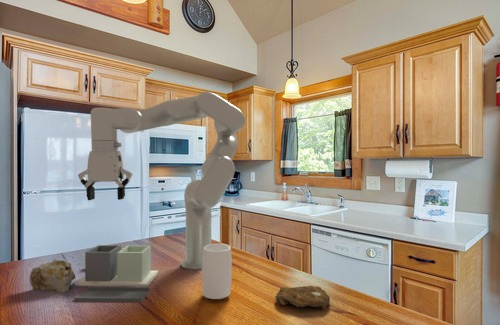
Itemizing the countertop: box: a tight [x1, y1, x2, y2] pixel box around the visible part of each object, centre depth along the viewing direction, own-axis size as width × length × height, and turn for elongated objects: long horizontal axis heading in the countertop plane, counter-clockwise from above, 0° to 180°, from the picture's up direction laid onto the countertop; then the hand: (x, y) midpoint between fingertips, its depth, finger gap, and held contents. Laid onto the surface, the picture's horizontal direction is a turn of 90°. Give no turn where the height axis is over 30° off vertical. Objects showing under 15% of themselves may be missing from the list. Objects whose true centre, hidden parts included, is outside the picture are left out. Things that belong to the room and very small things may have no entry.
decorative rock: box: [274, 285, 331, 310], centre depth 81 cm, size 11×4×15 cm
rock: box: [28, 258, 77, 293], centre depth 89 cm, size 12×7×10 cm, turn 76°
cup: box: [201, 243, 233, 300], centre depth 84 cm, size 8×8×14 cm
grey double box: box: [74, 244, 159, 287], centre depth 95 cm, size 22×11×10 cm, turn 90°
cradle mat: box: [70, 286, 152, 303], centre depth 84 cm, size 19×8×1 cm, turn 90°
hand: (106, 199), depth 95 cm, fingers open, 9 cm apart
